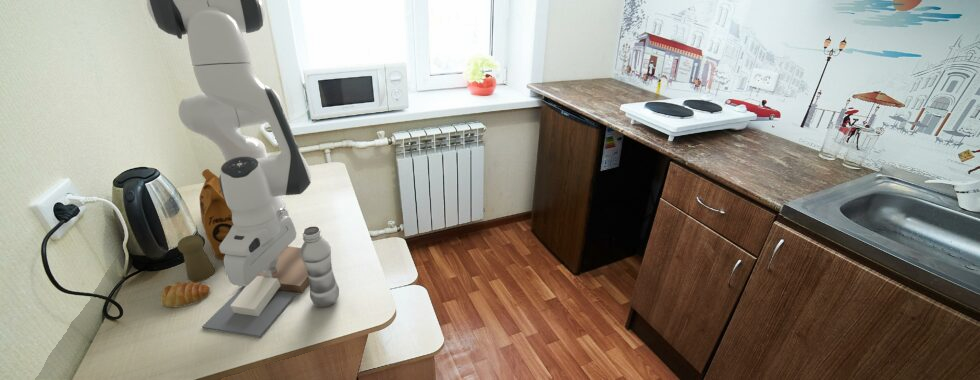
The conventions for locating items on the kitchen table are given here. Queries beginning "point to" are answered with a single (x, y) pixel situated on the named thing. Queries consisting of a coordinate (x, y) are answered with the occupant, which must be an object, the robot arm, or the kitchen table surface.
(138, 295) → the kitchen table surface
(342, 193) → the kitchen table surface
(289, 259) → the stand
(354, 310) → the kitchen table surface
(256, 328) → the mat
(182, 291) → the pastry
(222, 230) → the coffee package
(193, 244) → the cork
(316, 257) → the plastic bottle
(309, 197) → the kitchen table surface
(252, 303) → the tile
